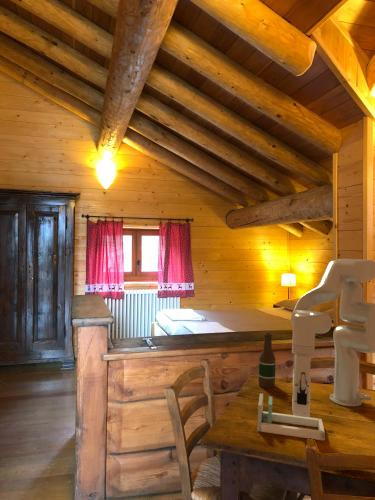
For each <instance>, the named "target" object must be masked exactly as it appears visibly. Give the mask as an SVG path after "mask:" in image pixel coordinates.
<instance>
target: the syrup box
mask: <svg viewBox="0 0 375 500" xmlns="http://www.w3.org/2000/svg"><path fill="white" fill-rule="evenodd" d="M311 378H312V376H311V375H310V378H309V384H308V385H307V405H300V404H297V392H298V383H296V384H295V383H294V368H293V369H292V395H291V397H292V399H291V400H292V403H291V411H292V415H295V416H301V417H311ZM300 383H301V382H300ZM305 383H306V381H305ZM300 387H301V385H300Z"/></svg>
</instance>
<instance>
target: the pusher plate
mask: <svg viewBox="0 0 375 500" xmlns="http://www.w3.org/2000/svg"><path fill="white" fill-rule="evenodd" d="M267 406H268V407H267V408H268V409H267V412H268V418H263V420H262V423H269V424H272V422H273V421H272V413H273V396H268V405H267Z"/></svg>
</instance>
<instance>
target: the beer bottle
mask: <svg viewBox="0 0 375 500" xmlns="http://www.w3.org/2000/svg"><path fill="white" fill-rule="evenodd" d="M263 336H264V341H263V347H262V348H263V349H262V351H261V352H260V354H259V358H258V377H257V378H258V387H262V388H265V389H271V388H275V386H276V384H275V383H276V357H275V354H274V352H273V348H272V346H273V344H272V338H273V334H272V333H270V332H264V334H263Z"/></svg>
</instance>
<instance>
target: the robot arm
mask: <svg viewBox="0 0 375 500" xmlns="http://www.w3.org/2000/svg"><path fill="white" fill-rule="evenodd" d="M374 279H375V261H374V260H372V259H365V258H364V259H362V258H359V259H358V258H338V259H333V260H331V261H330V262H328V264H327V265H326V267H325V270H324V272H323V273H322V276H321V277H320V280H319V282H318V285H317V286H316V287H315V288H313V289H311V290H309V291H307V292H306V293H305V294H303V295H302V296H301V297H300V298H299V299H298V300H297V302H296V303H295V306H294V308H293V310H292V313H291V316H290V324H291V326H292V339H291V340H292V341H291V342H292V343H291V353H292V354H294V358H293V359H294V361H293V369H294V383H295V384H296V383H298V392H297V404H300V405H307V385H308V384H309V378H310V376H311V357H313V356H315V347H316V344H315V343H316V338H315V337H316V334H319V335H322V334H325V333H328V332H329V331H330V330H331V328H332V326H333V325H332V324H333V320H332V317H331V316H330V315H329V314H327V313H326V312H321V311H315V310H311V308H313V307H315V306H318V305H320V304H321V305H322V304H325V303H329V302H333V301H335V300H337V299H338V298H339V297H340V300H339V318H340V320H342V321H343V322H345V323H349V324H353V325H354V324H355V325H360V326H361V325H362V326H364V328H363V327H358V326H351V325H342V324H341V325H338V326H336V327H335V328H334V329H333V332H332V334H333V335H332V336H333V345H334V374H333V375H334V377H333V393H330V394H329V400H330V401H332V402H333V403H334V404H337V405H341V406H344V407H354V408H355V407H359V406H360V407H361V405H362V404H363V400H366V401H371V400H372V399H371V395H369V394H367V393H364V392H363V393H362V392H360V391H359V383H360V381H359V380H360V379H359V378H360V359H359V356H358V354H357V353H356V352H360V353H365V354H374V353H375V302H370V301H369V302H368V301H363V297H364V295H363V293H364V290H363V286H362V285H361V283H366V282H372V281H373V280H374ZM305 381H306V383H305ZM300 382H301V383H300ZM300 385H301V387H300Z"/></svg>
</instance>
